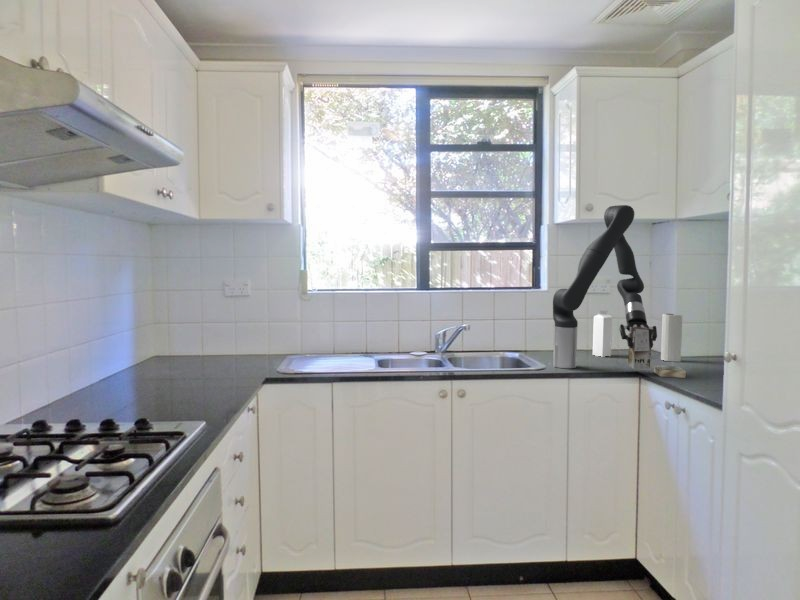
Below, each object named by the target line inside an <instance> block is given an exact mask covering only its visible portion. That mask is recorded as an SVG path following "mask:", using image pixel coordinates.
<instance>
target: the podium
mask: <svg viewBox="0 0 800 600" xmlns="http://www.w3.org/2000/svg"><path fill="white" fill-rule="evenodd" d="M653 372H654V373H655V374H656V375H658V376H659V377H662V378H663V377H664V378H682V379H683V378H684V379H685V378H686V375H687V371H686V370H685V369H683V368H681V367H679V366H672V365H654V367H653Z"/></svg>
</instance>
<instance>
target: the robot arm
mask: <svg viewBox="0 0 800 600" xmlns="http://www.w3.org/2000/svg"><path fill="white" fill-rule="evenodd" d="M634 218H635V209H634V208H633V207H632V206H630V205H627V204H623V205H622V204H619V205H612V206H611V205H610V206H609V207H607V208H606V209H605V211H604V213H603V220H604V223H605V226H606V230H605V231H604V232H603V233H602V234H601V235H599V236H598V237H596V239H595V240H594V241H592V242H591V243H590V244H589V245H588V246H587V248H586V249H585V251H584V252H583V254H582V256H581V258H580V260H579V263H578V267H577V273H576V276H575V278H574V280H573V281H572V282H571V284H570V285H569V287H568V288H559V289H557V290H556V292H555V293H554V294H553V298H552V319H553V320H554V337H553V338H554V341H553V359H552V360H553V363H552V365H553V367H554V368H559V369H575V368H577V364H578V363H577V356H578V353H577V352H578V328H579V327H578V326H579V325H578V324H579V323H578V319H576V317H575V315H574V311H577V309H579V308H580V307H581V305H582V303H583V301H584V299H585V297H586V295H587V293H588V291H589V289H590V287H591V285H592V283H593V282H594V280H595V279H596V277H597V275H598V274H599V272H600V271H601V269H602V268H603V266H604V264H605V263H606V261H607V259H608V257H609V256H610V254H611V252H612V251H613V250H614V253H615V257H616V262H617V268H618V272H619V274H620V275H622V276H623V275H626V276H631V277H630V278H624V279H620V280H619V281H618V282H617V285H616V288H617V291H618V293H619V294H620V296H621V297H622V299H623V304H624V316H625V320H626V325H625V324H622V323H621V324H620V326H619V329H618V330H619V333H620V337H621V339H622V340H626V342H627V347H628V348H629V347H630V348H632V346H633V343H632V338H631V331H630V327H647V328H649V329H652V342H651V349H652V348H653V347H654V342H655V341H656V340H657V338H658V332H657V330H658V329H657V326H656V325H653V326H649V325H648V322H647V321H648V320H647V314H646V312H645V308H644V304H643V299H642V296H641V295H640V293H643V292H644V288H645V284H644V282H643V280H642V278H641V277H640V274H639V272H638V269H637V263H636V259H635V255H634V254H635V253H634V251H633V249H632V247H631V246H630V244H629V242H628V241H627V239H626V237H625V235H624V234H625V232H626V231H627V230H628V229H629V227H630V226H631V225H632V223H633V222H634ZM626 330H627V331H628V332H629V333H628V334H627V333H626Z"/></svg>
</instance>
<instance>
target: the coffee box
mask: <svg viewBox="0 0 800 600" xmlns="http://www.w3.org/2000/svg"><path fill="white" fill-rule="evenodd" d="M630 331H631V338H632V343H633V346H632V348H630V347H628V354H627V358H628V360H627V365H628V366H629V367H630V368H632V370H633V369H634V370H642V371H643V370H645V371H650V368H651V357H652V355H651V354H652V348H651V342H652V329H649V328H647V327H630Z"/></svg>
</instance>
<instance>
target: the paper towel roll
mask: <svg viewBox="0 0 800 600" xmlns="http://www.w3.org/2000/svg"><path fill="white" fill-rule="evenodd" d="M661 318H662V322H661V324H662V325H661V339H660V340H661V342H660V343H661V345H660V346H661V347H660V360H661V361H663V360H664V361H665V362H678V363H679V362H680V363H681V362H682V361H681V359H682V357H681V356H682V336H683V335H682V334H683V333H682V332H683V315H682V314H675V313H662V317H661Z"/></svg>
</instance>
